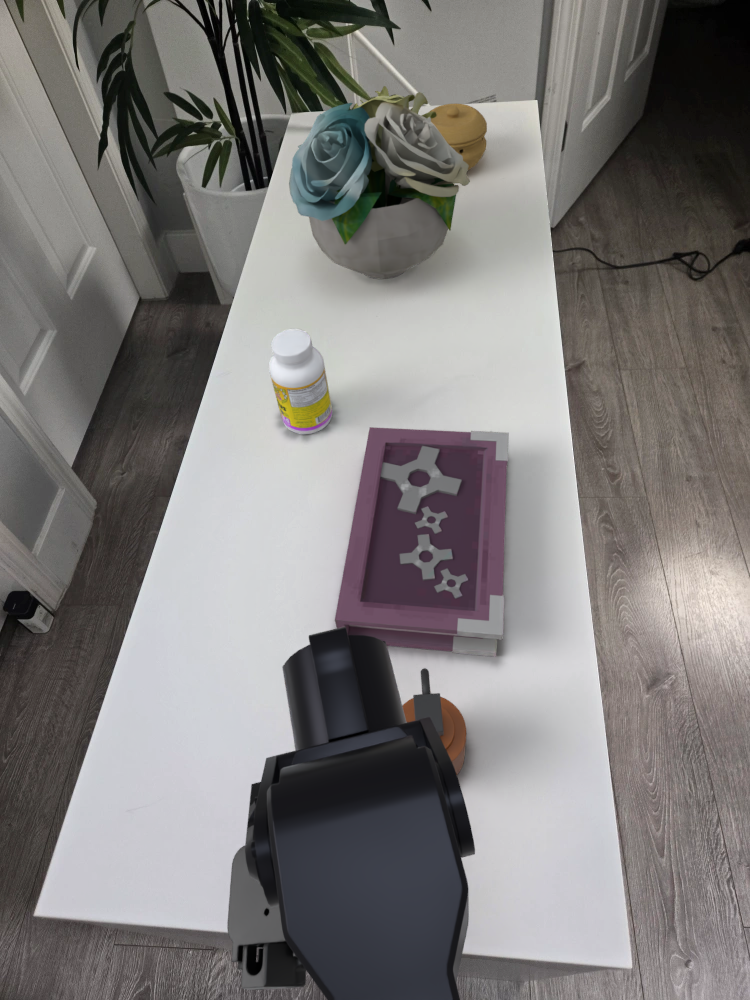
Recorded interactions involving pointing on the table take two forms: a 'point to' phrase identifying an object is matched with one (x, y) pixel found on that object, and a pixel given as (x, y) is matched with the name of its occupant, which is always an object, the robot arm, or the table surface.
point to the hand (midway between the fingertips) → (397, 911)
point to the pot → (462, 130)
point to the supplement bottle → (300, 382)
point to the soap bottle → (447, 730)
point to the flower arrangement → (377, 184)
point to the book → (428, 541)
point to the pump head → (428, 704)
